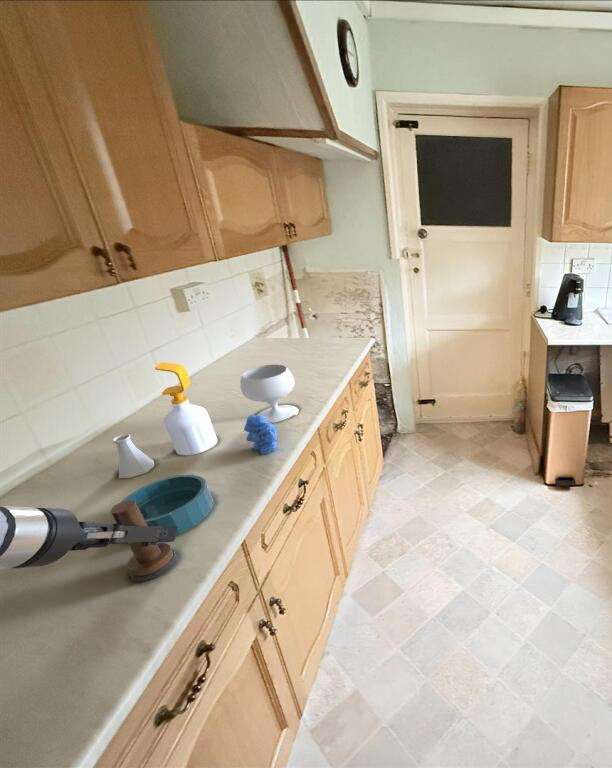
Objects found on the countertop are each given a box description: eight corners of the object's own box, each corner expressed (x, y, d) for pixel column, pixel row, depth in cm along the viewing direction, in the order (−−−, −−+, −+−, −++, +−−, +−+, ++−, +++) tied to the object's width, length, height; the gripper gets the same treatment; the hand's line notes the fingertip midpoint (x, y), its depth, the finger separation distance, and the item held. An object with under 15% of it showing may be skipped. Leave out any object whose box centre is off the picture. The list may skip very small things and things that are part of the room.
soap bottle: (184, 441, 110) (151, 359, 100) (222, 436, 113) (194, 356, 102) (171, 460, 102) (133, 373, 92) (211, 454, 105) (179, 369, 95)
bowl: (106, 547, 77) (92, 524, 74) (162, 496, 90) (152, 475, 87) (184, 545, 78) (174, 522, 75) (228, 494, 91) (220, 473, 88)
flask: (125, 466, 100) (108, 433, 96) (161, 460, 102) (146, 427, 98) (112, 484, 94) (94, 449, 90) (150, 476, 96) (134, 442, 92)
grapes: (296, 451, 106) (285, 412, 101) (272, 464, 101) (259, 424, 96) (268, 440, 111) (257, 402, 106) (244, 452, 106) (231, 413, 101)
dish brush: (123, 586, 69) (85, 521, 63) (151, 556, 75) (118, 494, 69) (162, 584, 70) (128, 519, 63) (186, 554, 76) (157, 492, 69)
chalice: (244, 430, 116) (229, 384, 109) (258, 408, 128) (245, 365, 122) (297, 424, 119) (285, 378, 113) (305, 403, 131) (295, 361, 125)
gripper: (-60, 571, 50) (109, 558, 72) (78, 566, 51) (203, 554, 73) (-35, 509, 53) (121, 514, 75) (96, 505, 53) (212, 511, 76)
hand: (161, 534), depth 74 cm, fingers open, 3 cm apart
